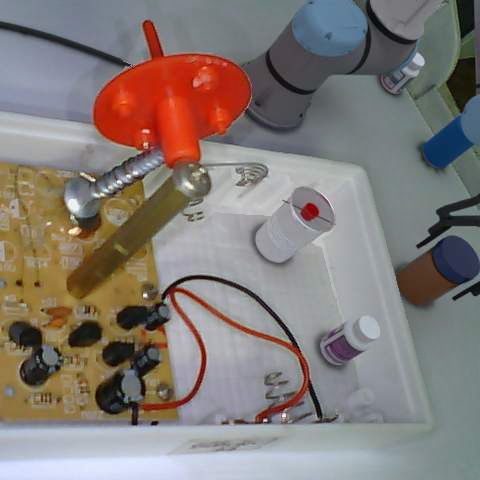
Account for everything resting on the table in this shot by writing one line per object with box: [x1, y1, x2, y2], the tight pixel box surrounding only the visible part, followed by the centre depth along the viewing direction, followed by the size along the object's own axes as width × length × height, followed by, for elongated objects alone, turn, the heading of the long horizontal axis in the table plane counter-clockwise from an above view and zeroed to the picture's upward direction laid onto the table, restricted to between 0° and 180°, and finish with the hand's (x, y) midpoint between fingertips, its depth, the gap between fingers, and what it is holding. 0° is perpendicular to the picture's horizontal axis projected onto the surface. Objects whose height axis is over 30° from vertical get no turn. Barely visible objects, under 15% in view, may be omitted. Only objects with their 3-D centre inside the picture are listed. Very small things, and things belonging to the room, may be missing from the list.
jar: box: [396, 245, 462, 307], centre depth 140 cm, size 8×8×11 cm
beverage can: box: [422, 113, 475, 169], centre depth 161 cm, size 6×6×12 cm
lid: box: [433, 234, 480, 285], centre depth 136 cm, size 8×8×2 cm
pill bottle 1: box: [319, 314, 381, 366], centre depth 124 cm, size 5×5×10 cm
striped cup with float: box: [254, 185, 337, 264], centre depth 129 cm, size 10×8×12 cm
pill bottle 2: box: [380, 52, 426, 95], centre depth 168 cm, size 5×5×9 cm
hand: (438, 270), depth 139 cm, fingers open, 10 cm apart
